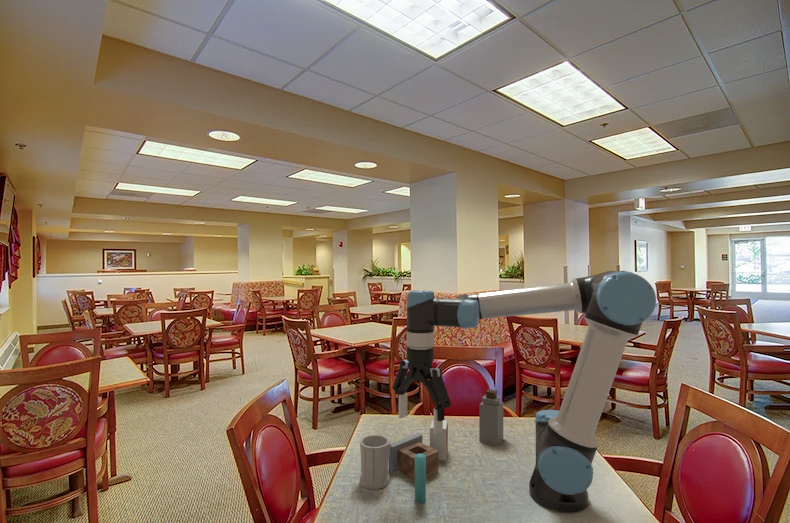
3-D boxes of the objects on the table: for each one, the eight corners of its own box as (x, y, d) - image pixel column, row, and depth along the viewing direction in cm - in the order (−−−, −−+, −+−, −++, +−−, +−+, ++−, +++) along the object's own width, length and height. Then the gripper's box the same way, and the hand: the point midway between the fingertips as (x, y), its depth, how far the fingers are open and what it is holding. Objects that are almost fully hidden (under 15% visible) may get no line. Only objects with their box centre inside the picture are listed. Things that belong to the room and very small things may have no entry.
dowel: (428, 500, 107) (428, 456, 107) (420, 504, 105) (420, 459, 105) (420, 495, 109) (420, 452, 109) (412, 499, 107) (412, 455, 107)
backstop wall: (422, 459, 130) (422, 435, 130) (392, 473, 121) (392, 447, 121) (418, 457, 131) (418, 433, 131) (388, 470, 122) (388, 444, 123)
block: (438, 472, 121) (438, 450, 122) (417, 482, 116) (417, 460, 116) (418, 461, 128) (418, 441, 128) (397, 470, 122) (397, 449, 122)
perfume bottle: (503, 438, 145) (503, 390, 145) (497, 445, 139) (497, 395, 140) (485, 434, 149) (485, 387, 149) (479, 441, 143) (479, 391, 143)
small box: (446, 461, 128) (446, 429, 128) (429, 459, 129) (429, 427, 129) (448, 450, 136) (448, 419, 136) (432, 448, 137) (432, 418, 137)
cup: (362, 470, 122) (362, 432, 123) (391, 471, 122) (391, 432, 122) (357, 489, 112) (358, 447, 112) (389, 490, 112) (389, 448, 112)
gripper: (464, 352, 101) (464, 435, 100) (400, 338, 119) (399, 408, 119) (445, 356, 96) (444, 444, 96) (380, 341, 114) (380, 414, 114)
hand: (419, 424), depth 107 cm, fingers open, 13 cm apart
